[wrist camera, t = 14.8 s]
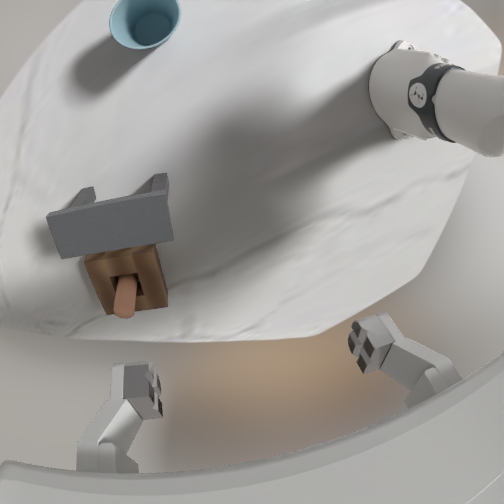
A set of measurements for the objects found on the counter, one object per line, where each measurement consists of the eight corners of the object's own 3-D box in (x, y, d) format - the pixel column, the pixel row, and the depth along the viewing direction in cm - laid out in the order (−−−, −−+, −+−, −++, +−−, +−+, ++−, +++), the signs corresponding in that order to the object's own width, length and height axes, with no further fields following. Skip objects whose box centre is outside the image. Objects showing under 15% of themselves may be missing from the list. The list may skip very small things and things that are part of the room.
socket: (154, 238, 49) (152, 251, 45) (167, 292, 56) (167, 306, 52) (89, 249, 47) (84, 262, 43) (109, 300, 54) (106, 314, 50)
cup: (114, 33, 29) (95, 23, 21) (155, -4, 27) (148, -25, 19) (150, 64, 33) (141, 62, 25) (191, 27, 32) (195, 14, 23)
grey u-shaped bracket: (168, 159, 42) (165, 193, 31) (173, 196, 45) (173, 240, 35) (76, 177, 40) (45, 217, 29) (85, 212, 43) (61, 259, 32)
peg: (118, 265, 50) (110, 304, 42) (135, 262, 50) (130, 301, 42) (123, 280, 52) (117, 319, 44) (140, 277, 52) (136, 317, 44)
